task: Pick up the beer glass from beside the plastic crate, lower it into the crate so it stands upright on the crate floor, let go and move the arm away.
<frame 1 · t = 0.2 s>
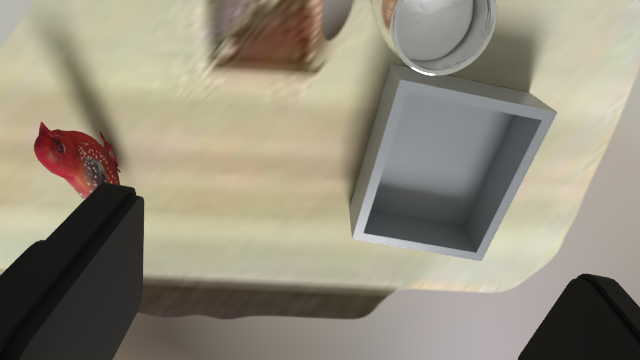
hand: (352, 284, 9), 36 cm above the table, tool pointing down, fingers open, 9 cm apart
decorative bird figurine: (120, 167, 48), on the table
crate: (432, 155, 47), on the table
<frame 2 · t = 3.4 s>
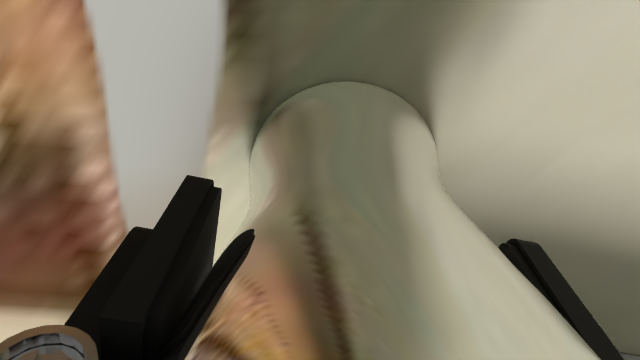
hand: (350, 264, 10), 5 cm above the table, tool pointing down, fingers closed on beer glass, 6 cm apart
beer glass: (342, 167, 14), on the table, touching gripper
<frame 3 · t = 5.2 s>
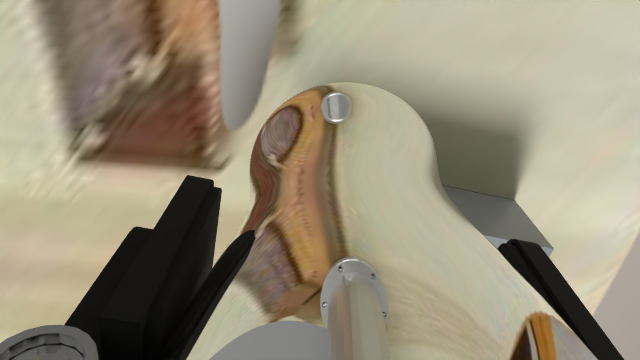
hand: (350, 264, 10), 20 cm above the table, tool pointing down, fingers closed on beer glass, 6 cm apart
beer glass: (342, 168, 14), point 15 cm above the table, touching gripper
crate: (385, 273, 35), on the table
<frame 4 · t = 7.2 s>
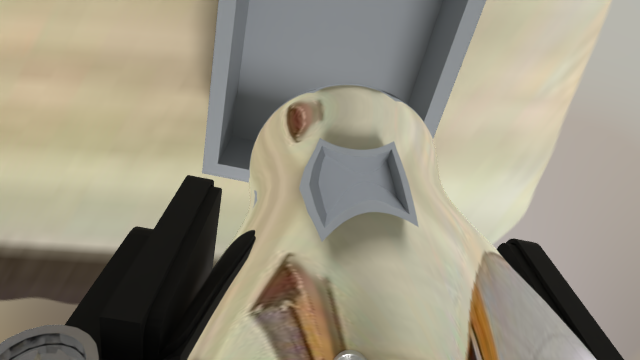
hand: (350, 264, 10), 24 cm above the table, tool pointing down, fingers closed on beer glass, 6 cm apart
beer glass: (342, 169, 14), point 19 cm above the table, touching gripper
crate: (333, 52, 31), on the table
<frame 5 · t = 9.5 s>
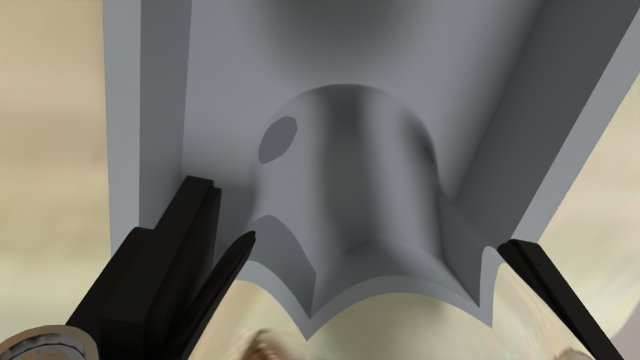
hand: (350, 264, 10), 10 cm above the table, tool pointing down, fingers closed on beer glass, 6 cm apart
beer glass: (342, 169, 14), point 6 cm above the table, touching gripper
crate: (337, 109, 19), on the table
when the fingers open (7 cm above the table, at t = 11.2 s): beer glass drops 1 cm, resting on crate.
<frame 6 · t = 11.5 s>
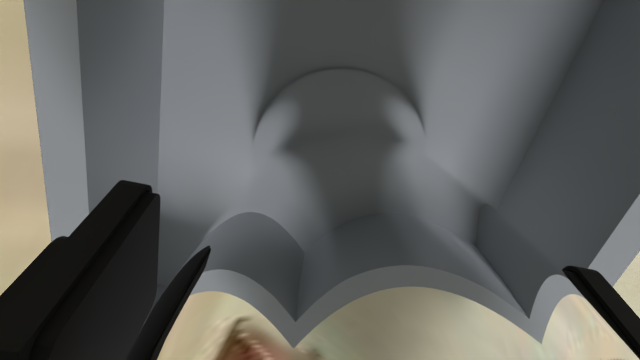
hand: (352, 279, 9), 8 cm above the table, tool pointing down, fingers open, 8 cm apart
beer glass: (338, 150, 15), point 1 cm above the table, touching crate
crate: (340, 141, 16), on the table
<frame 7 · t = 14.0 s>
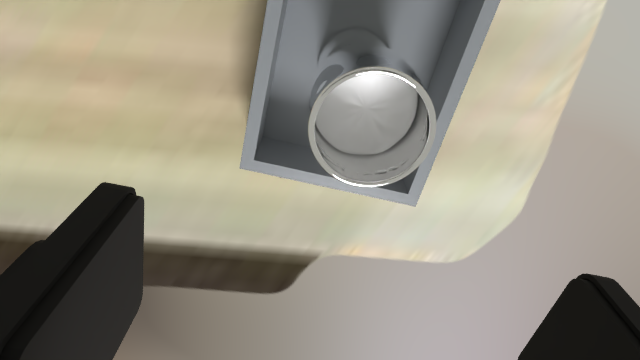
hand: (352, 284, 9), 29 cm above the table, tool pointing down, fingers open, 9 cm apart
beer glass: (354, 66, 34), point 1 cm above the table, touching crate
crate: (354, 64, 35), on the table
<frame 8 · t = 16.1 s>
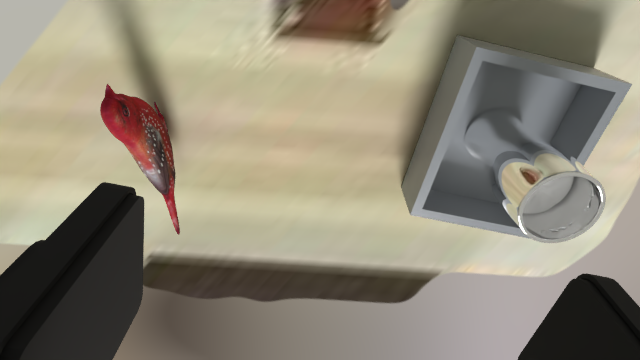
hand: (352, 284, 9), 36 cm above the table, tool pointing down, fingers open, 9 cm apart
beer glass: (491, 134, 45), point 1 cm above the table, touching crate
decorative bird figurine: (171, 139, 47), on the table
crate: (490, 132, 46), on the table
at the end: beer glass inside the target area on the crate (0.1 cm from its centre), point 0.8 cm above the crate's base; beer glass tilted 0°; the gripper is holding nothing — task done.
